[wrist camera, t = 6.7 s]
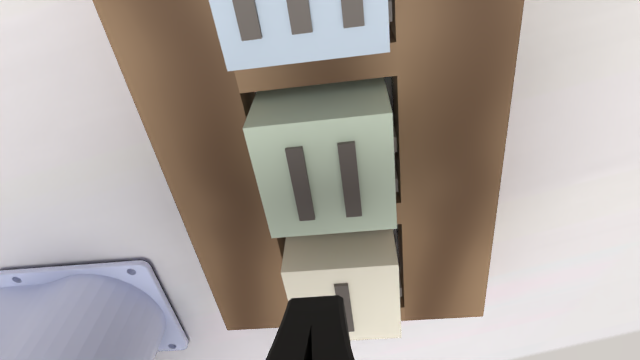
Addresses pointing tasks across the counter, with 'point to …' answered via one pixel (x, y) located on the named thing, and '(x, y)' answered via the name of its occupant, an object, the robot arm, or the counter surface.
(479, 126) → the frame
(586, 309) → the counter surface
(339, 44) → the tile three
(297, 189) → the tile two
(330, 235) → the tile one
